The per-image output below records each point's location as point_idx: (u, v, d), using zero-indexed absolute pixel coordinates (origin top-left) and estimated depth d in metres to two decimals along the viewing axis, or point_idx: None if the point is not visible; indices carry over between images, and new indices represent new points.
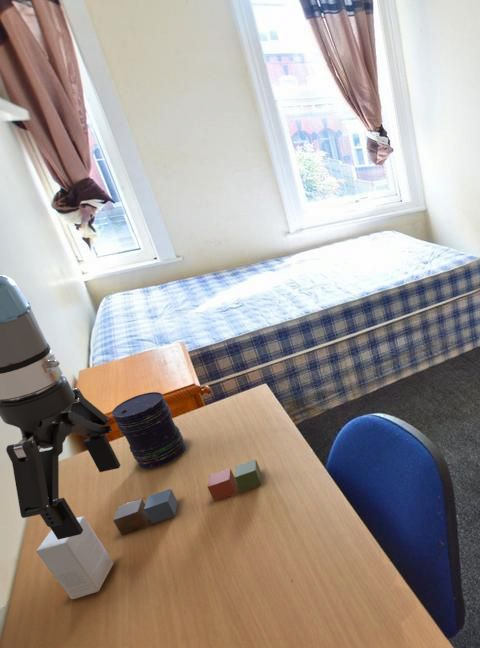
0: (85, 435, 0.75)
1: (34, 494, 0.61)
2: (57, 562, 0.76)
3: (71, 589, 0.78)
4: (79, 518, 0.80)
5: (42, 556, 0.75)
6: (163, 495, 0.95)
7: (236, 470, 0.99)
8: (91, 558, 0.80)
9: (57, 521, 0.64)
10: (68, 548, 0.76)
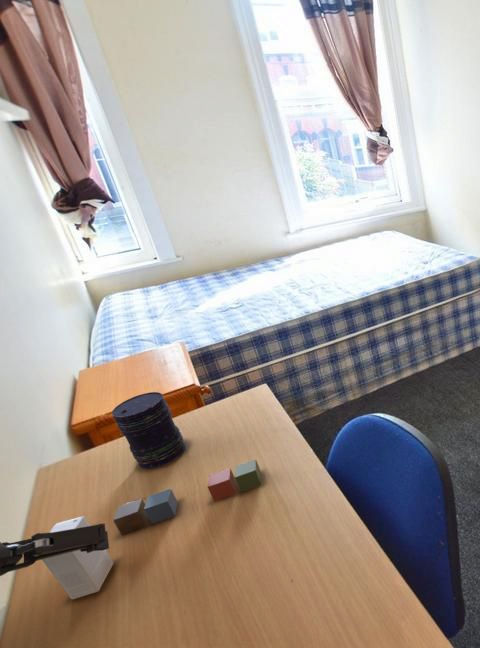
0: None
1: None
2: (57, 562, 0.76)
3: (71, 589, 0.78)
4: (79, 518, 0.80)
5: None
6: (163, 495, 0.95)
7: (236, 470, 0.99)
8: (91, 558, 0.80)
9: None
10: None
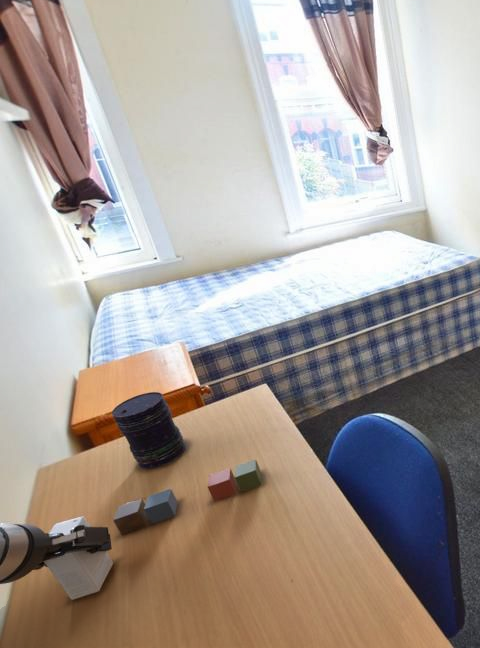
0: None
1: None
2: (58, 562, 0.76)
3: (71, 589, 0.78)
4: (79, 518, 0.80)
5: None
6: (163, 495, 0.95)
7: (236, 470, 0.99)
8: (91, 558, 0.80)
9: (45, 564, 0.78)
10: None
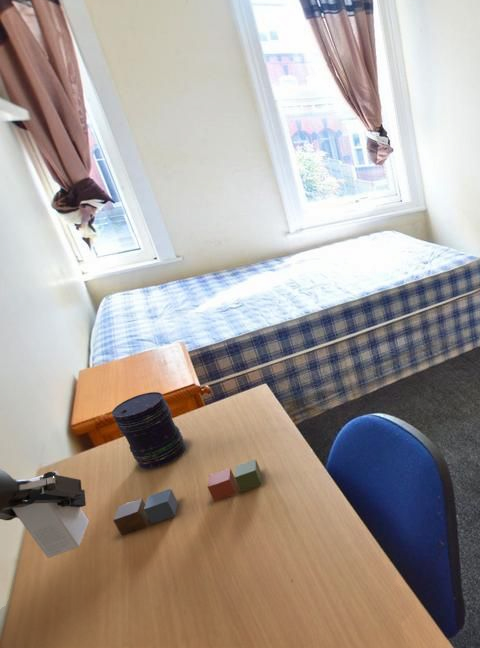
0: None
1: None
2: (34, 516, 0.72)
3: (48, 546, 0.75)
4: None
5: (16, 510, 0.71)
6: (163, 495, 0.95)
7: (236, 470, 0.99)
8: (68, 514, 0.77)
9: None
10: None
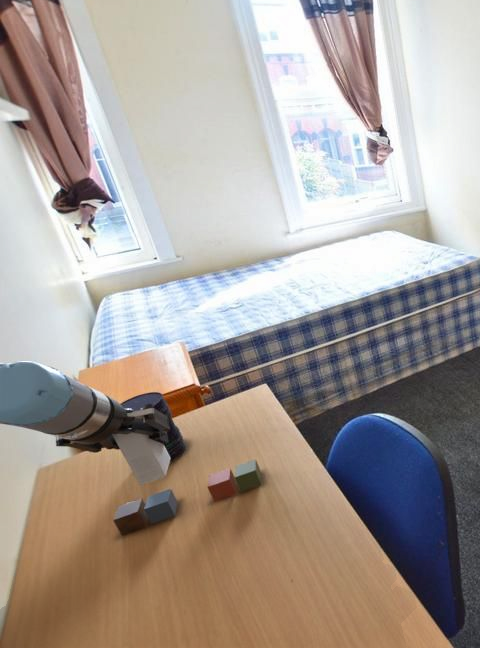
0: None
1: None
2: (131, 446, 0.83)
3: (141, 474, 0.86)
4: None
5: (117, 440, 0.82)
6: (163, 495, 0.95)
7: (236, 470, 0.99)
8: (157, 447, 0.88)
9: (115, 448, 0.86)
10: None
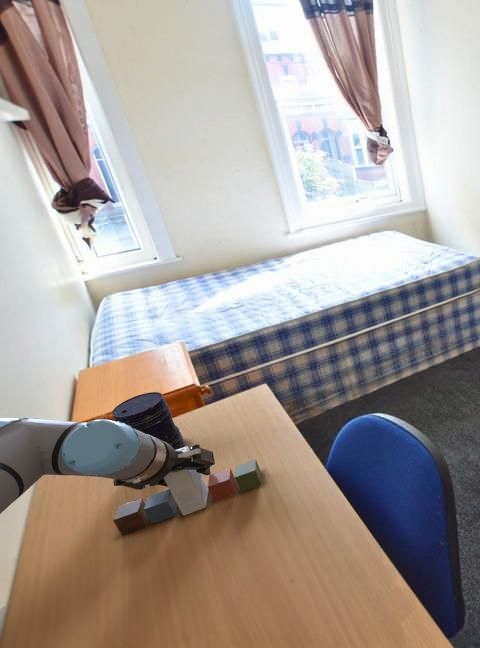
0: None
1: None
2: (176, 481, 0.91)
3: (184, 505, 0.94)
4: (185, 447, 0.95)
5: None
6: (163, 495, 0.95)
7: (236, 470, 0.99)
8: (198, 480, 0.96)
9: None
10: None
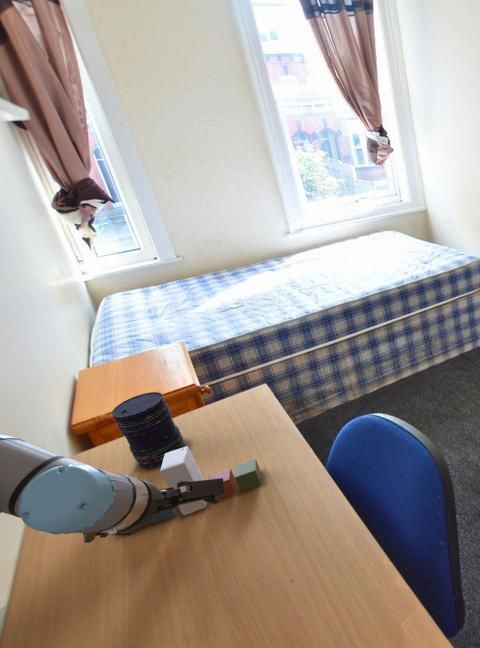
0: None
1: (84, 535, 0.74)
2: (176, 481, 0.91)
3: (184, 505, 0.94)
4: (185, 447, 0.95)
5: (164, 475, 0.90)
6: None
7: (236, 470, 0.99)
8: (198, 480, 0.96)
9: None
10: (185, 467, 0.91)
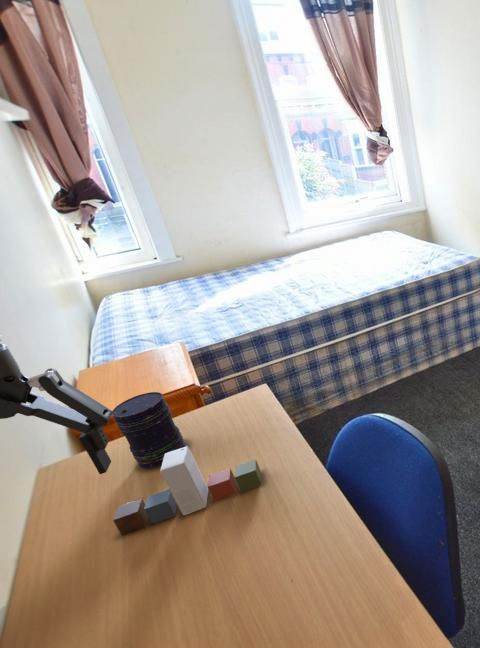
0: None
1: None
2: (176, 481, 0.91)
3: (184, 505, 0.94)
4: (185, 447, 0.95)
5: (164, 475, 0.90)
6: (163, 495, 0.95)
7: (236, 470, 0.99)
8: (198, 480, 0.96)
9: None
10: (185, 467, 0.91)
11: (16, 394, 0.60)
